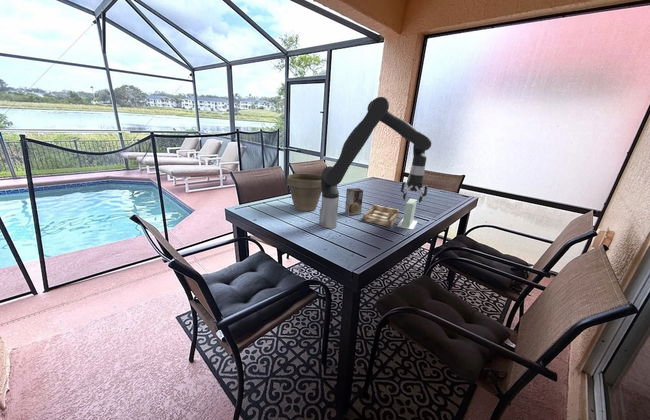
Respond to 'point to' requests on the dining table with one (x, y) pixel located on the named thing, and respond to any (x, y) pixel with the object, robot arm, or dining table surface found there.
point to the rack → (392, 215)
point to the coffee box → (354, 201)
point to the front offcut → (379, 216)
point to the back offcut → (381, 214)
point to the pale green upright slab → (409, 212)
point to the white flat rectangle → (410, 225)
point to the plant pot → (305, 190)
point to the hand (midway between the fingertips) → (411, 200)
